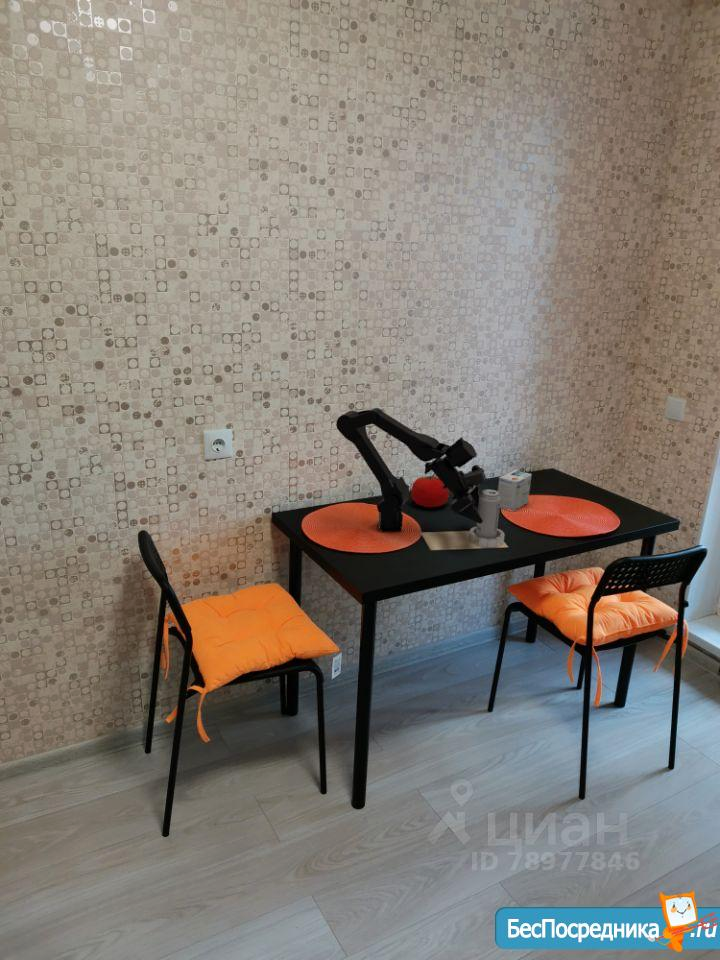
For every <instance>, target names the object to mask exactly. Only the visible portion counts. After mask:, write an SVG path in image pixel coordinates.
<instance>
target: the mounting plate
mask: <svg viewBox="0 0 720 960" xmlns="http://www.w3.org/2000/svg"><path fill="white" fill-rule="evenodd" d="M469 532H470V530H460V531H459V530H458V531H457V530H456V531H435V532H434V531H432V532H431V531H429V532H427V531H426V532H420V535H421V536H422V537H423V539H424V541H425V542H426V544H427V546H428V548H429V550H431V551H442V550H443V551H444V550H446V551H447V550H469V549H470V550H472V549H473V550H474V549H487V548H486V547H480V546H477V545H475V544H473V543H471V542H470V540H469ZM497 548H499V549H500V548H509V546H508V545H507V543H506V542H505V541H504V542H503V544H502V545H501V546H499V547H495V548H494V549H497Z"/></svg>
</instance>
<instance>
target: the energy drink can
mask: <svg viewBox="0 0 720 960" xmlns="http://www.w3.org/2000/svg"><path fill="white" fill-rule="evenodd" d="M500 501H501V498H500V496H499V492H498V490H495V489H488V488H487V489H483V490H482V491H481V494H480V497H479V506H478V508H477V512H478V514H479V515H480V517H481V518H482V520H483V522H482V523H481V524H480V523H477V522H476V525H475V527H476V535H477V536H480V537H483V538H496V536H497V528H498V524H499V518H500V517H499V516H500V510H501V508H500Z"/></svg>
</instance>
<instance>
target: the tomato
mask: <svg viewBox="0 0 720 960" xmlns="http://www.w3.org/2000/svg"><path fill="white" fill-rule="evenodd" d="M443 485H444V484H443V483H442V482H441V481H440V480H439V478H438V477H437V476H436V475H435V474H432V475H428V476H427V475H426V476H420V477H417V478H416V479H415V480H414V482H412V485H411V488H410V489H411V491H410V494H411V497H412V499H413V501H414V503H416V505H417V506H421V507H424V508H436V507H437V508H438V507H441V506H443V505H445V503H446V502H448V499H449V497H450V494H451V493H450V492H449V490H448V489H447V488H446V489H444V488H443Z"/></svg>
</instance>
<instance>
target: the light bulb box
mask: <svg viewBox="0 0 720 960" xmlns="http://www.w3.org/2000/svg"><path fill="white" fill-rule="evenodd" d="M532 476H533V475H532V473H530V472H529V473H528V472H525V471H521V470H517V469H513V470H511V471H509V472H508V473H506V474H503V475H502V476H499V478H498V486H497V491H498V492H499V496H500V498H501V501H500V509H502V508H505V509H509V510H512V511H514V510H515V511H517V510H518V509H517V508H519V507H521V506H523V505H524V504H526V503H529V498H530V490H531V481H532ZM526 505H527V504H526ZM524 506H525V505H524ZM524 506H523V507H524ZM521 508H522V507H521ZM505 509H504V510H505ZM516 509H517V510H516ZM519 509H520V508H519ZM515 511H514V512H515Z"/></svg>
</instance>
